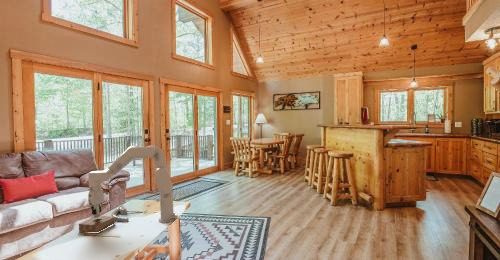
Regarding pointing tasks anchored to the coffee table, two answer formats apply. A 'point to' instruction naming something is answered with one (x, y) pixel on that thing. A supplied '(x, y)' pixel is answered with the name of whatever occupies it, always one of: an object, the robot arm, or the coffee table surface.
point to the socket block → (96, 224)
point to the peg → (97, 211)
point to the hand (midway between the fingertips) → (96, 213)
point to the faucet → (122, 211)
